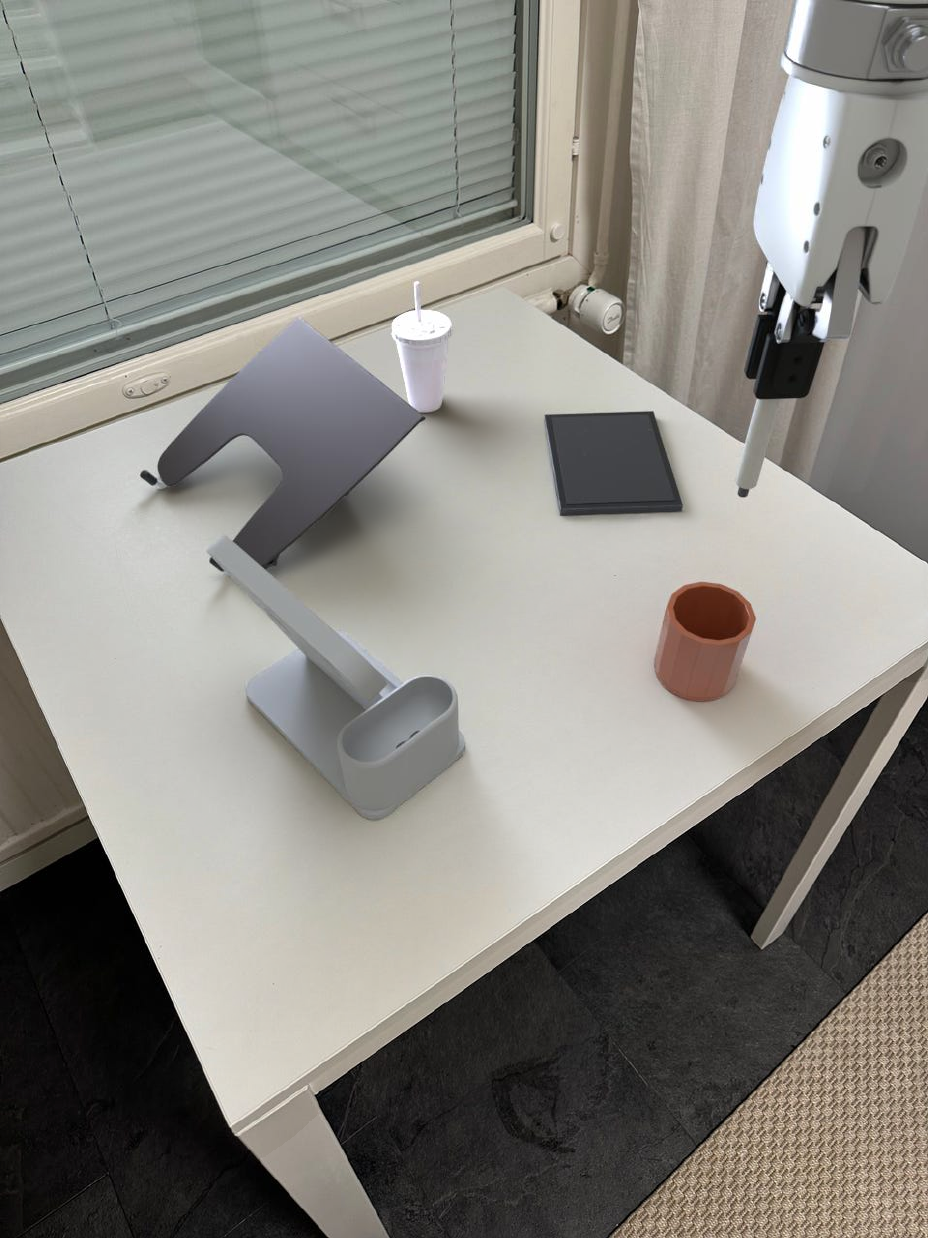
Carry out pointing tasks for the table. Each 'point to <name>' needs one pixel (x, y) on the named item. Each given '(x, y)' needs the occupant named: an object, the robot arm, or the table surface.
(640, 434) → the tablet
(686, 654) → the pencil cup
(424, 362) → the smoothie
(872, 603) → the table surface
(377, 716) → the phone holder
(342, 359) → the laptop tray
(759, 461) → the stylus
